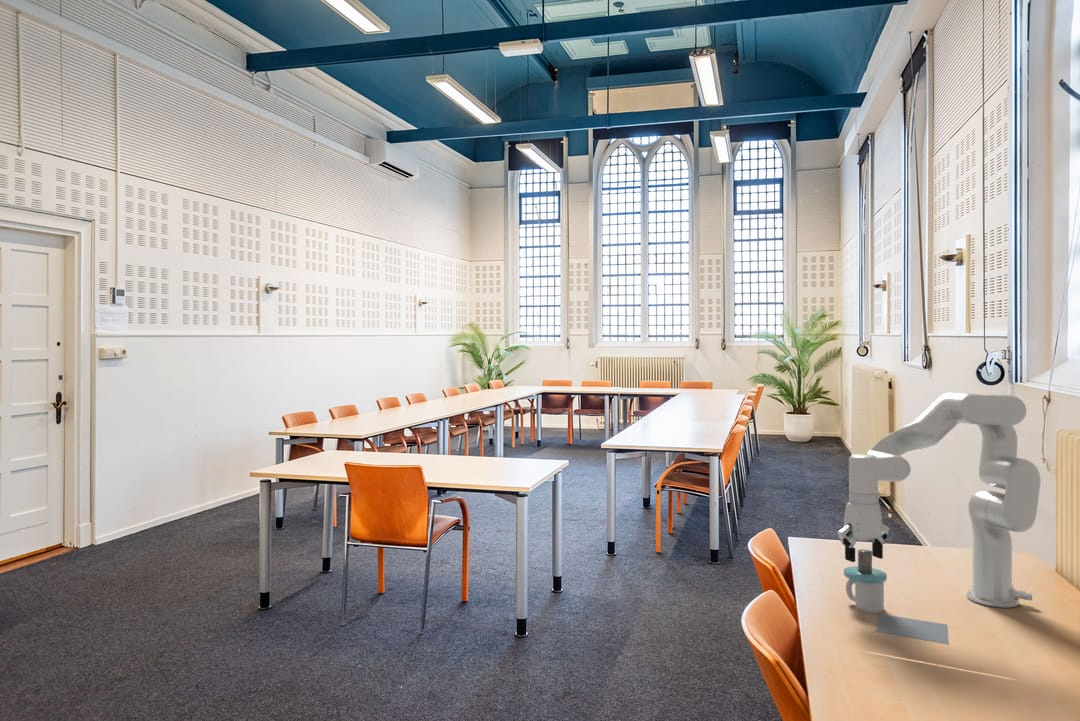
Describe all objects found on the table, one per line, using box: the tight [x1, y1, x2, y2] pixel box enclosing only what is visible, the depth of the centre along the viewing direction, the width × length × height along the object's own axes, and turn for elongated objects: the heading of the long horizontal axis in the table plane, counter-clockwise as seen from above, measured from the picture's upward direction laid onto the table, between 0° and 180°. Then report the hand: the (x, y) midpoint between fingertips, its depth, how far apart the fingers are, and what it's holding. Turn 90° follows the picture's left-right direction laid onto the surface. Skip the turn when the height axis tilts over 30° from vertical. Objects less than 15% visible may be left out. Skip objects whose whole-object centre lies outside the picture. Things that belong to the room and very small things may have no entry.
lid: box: [843, 548, 888, 583], centre depth 192 cm, size 11×11×7 cm
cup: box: [845, 578, 885, 614], centre depth 192 cm, size 7×10×9 cm
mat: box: [875, 613, 950, 645], centre depth 177 cm, size 16×14×1 cm
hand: (863, 559), depth 192 cm, fingers open, 9 cm apart
